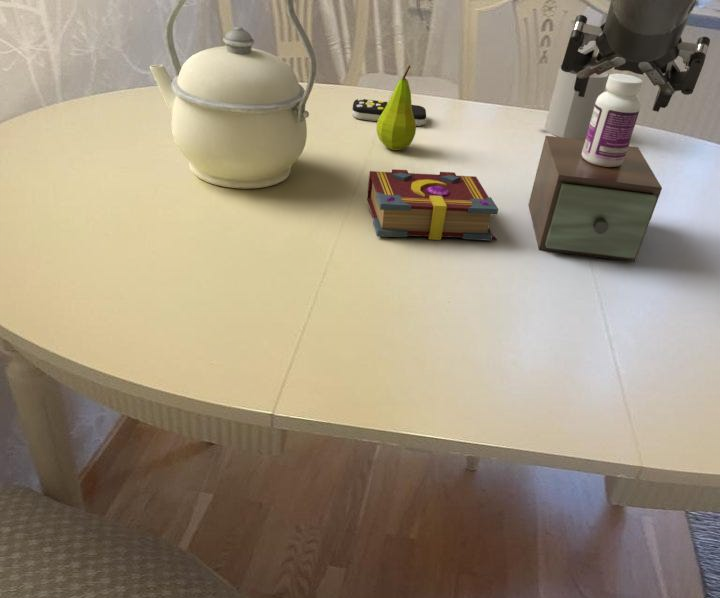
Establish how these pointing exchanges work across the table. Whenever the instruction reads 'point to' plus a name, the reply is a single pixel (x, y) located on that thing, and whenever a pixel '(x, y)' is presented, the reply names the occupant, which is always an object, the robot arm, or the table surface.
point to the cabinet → (582, 182)
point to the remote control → (375, 108)
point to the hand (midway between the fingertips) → (619, 96)
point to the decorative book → (429, 205)
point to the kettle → (237, 108)
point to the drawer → (599, 220)
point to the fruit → (397, 118)
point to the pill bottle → (613, 121)
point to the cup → (573, 105)
